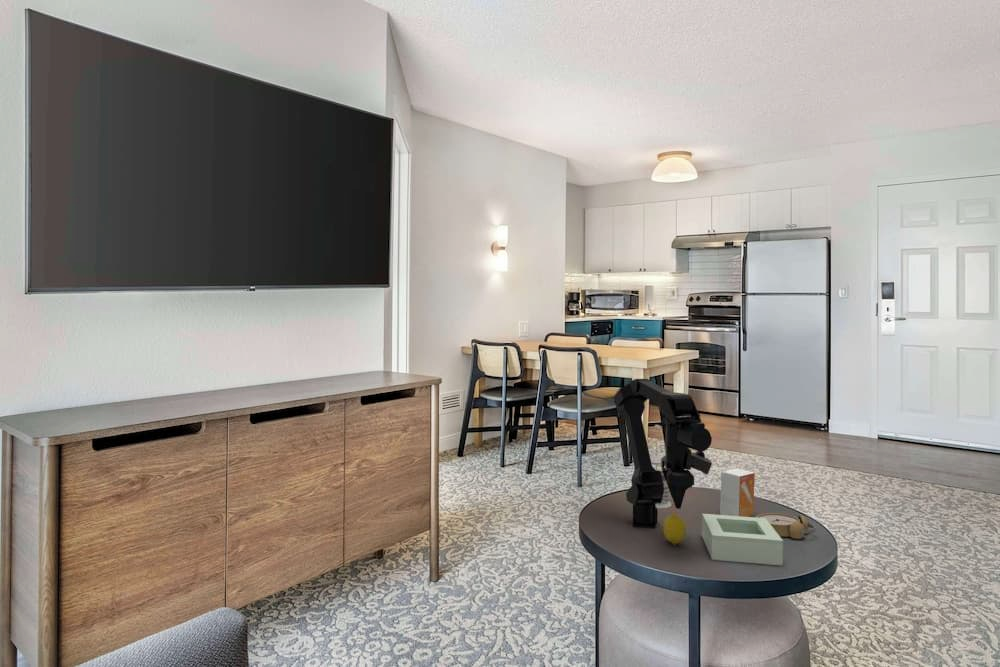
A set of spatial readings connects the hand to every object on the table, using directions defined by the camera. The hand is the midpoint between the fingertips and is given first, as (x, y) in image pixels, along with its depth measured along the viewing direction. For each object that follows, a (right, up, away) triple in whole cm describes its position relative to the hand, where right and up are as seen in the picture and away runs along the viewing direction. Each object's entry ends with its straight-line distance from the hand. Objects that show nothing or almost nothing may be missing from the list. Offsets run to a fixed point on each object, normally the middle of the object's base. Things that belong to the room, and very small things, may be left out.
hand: (675, 502), depth 151 cm
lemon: (0, -11, 0) cm, 11 cm away
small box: (+26, -11, +24) cm, 37 cm away
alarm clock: (+33, -12, +10) cm, 37 cm away
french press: (+3, -10, +34) cm, 36 cm away
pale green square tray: (+15, -11, -3) cm, 19 cm away
